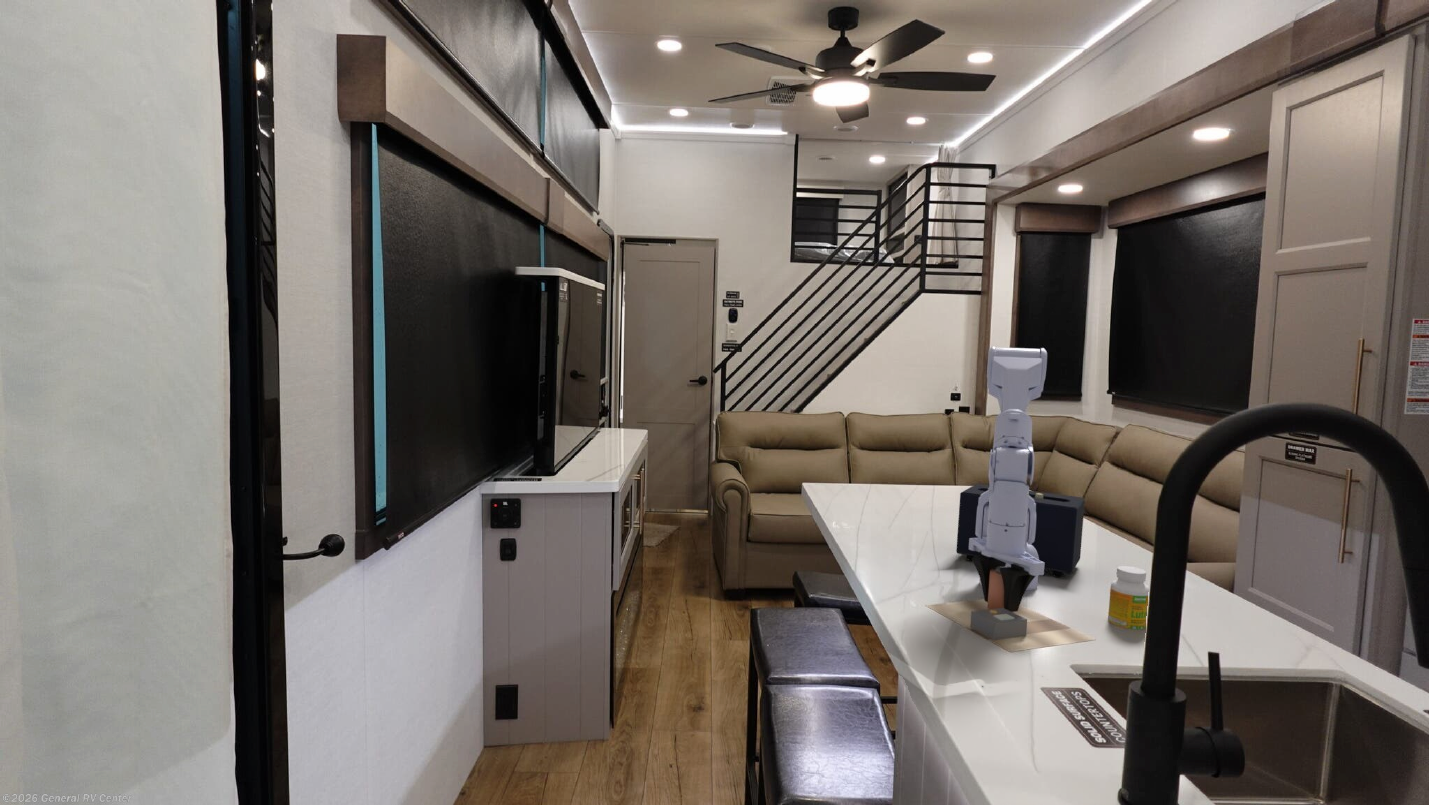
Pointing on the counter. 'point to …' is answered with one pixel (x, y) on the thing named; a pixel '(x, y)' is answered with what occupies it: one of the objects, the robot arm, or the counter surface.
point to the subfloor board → (1037, 636)
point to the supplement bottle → (1129, 598)
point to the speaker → (1053, 527)
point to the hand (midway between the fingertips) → (1000, 606)
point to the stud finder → (998, 623)
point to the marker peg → (996, 589)
